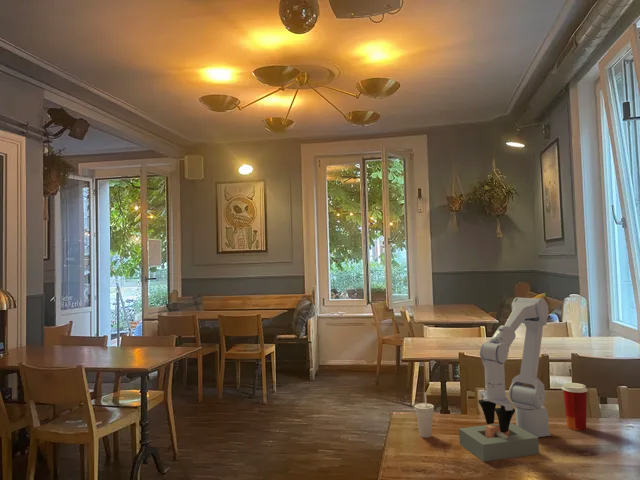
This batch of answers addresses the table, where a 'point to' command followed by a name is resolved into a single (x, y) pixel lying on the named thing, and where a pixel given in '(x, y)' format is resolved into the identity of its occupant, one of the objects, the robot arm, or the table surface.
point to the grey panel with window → (498, 443)
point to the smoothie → (424, 418)
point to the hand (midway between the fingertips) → (497, 427)
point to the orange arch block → (491, 429)
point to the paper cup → (575, 405)
